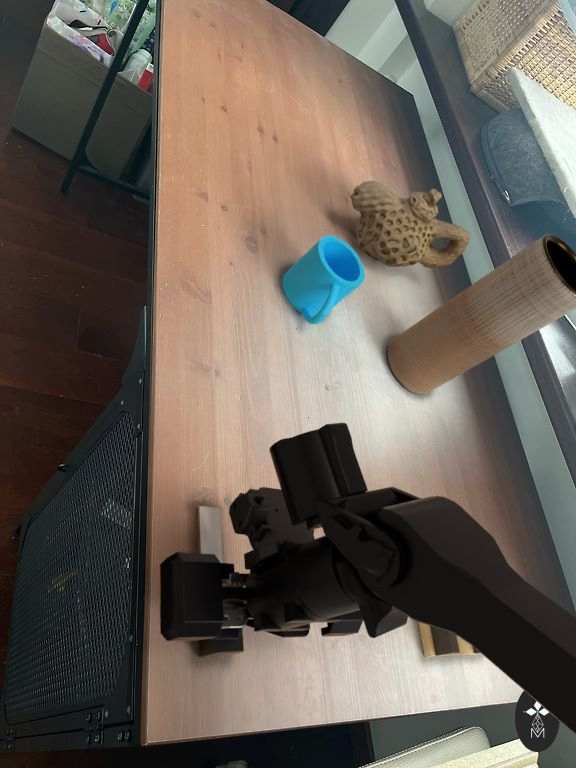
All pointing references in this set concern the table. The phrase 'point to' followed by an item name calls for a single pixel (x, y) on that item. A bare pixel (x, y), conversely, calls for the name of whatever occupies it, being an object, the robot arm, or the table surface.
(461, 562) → the robot arm
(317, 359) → the table surface
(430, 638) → the rack
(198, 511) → the knife
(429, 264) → the teapot
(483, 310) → the vase
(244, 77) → the table surface
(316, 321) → the mug
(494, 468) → the table surface
